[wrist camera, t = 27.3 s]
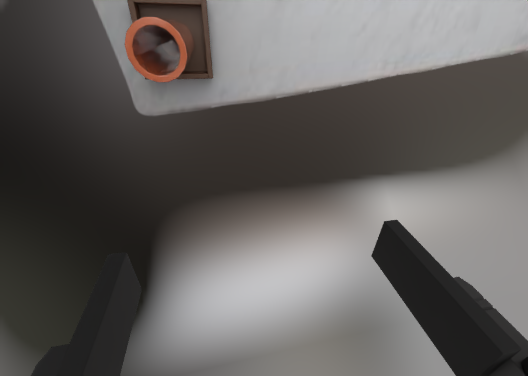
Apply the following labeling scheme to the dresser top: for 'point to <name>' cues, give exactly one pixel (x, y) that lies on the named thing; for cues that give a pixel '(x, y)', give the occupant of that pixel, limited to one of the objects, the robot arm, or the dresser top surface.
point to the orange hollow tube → (159, 47)
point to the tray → (194, 17)
